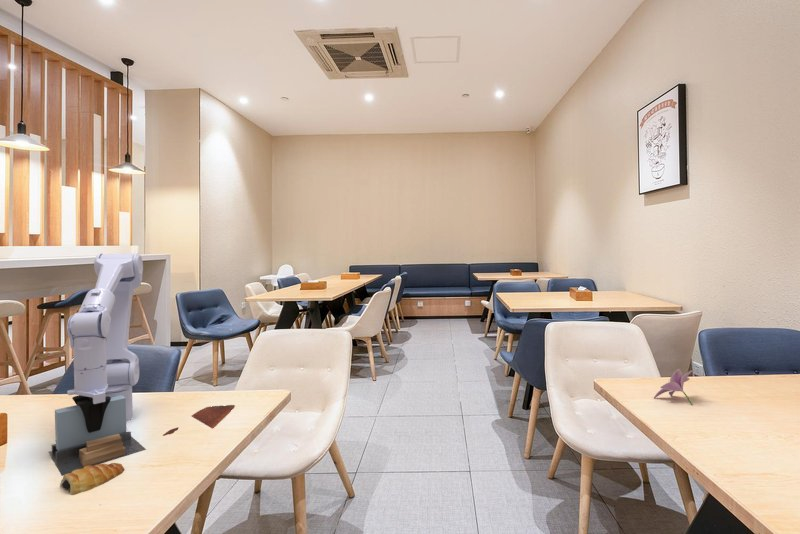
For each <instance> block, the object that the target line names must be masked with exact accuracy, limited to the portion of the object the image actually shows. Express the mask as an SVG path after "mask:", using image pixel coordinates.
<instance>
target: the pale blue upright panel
mask: <svg viewBox="0 0 800 534" xmlns="http://www.w3.org/2000/svg"><path fill="white" fill-rule="evenodd" d="M54 424H55V425H54V431H55V444H56V449H57V450H58V451H60V450H63V449H67V448H71V447H74V446H78V445H82V444H85V443H86V442H87V441H91V440H95V439H99V438H103V437H107V436H111V435H115V434H121V433H125V432H127V422H126V398H125V397H123V396H122V395H121V396H116V397H112V398H111V400H110V402H109V404H108V406H107V408H106V410H105V413H104V417H103V422H102V426H101V429H100V430H98V431H94V432H91V433H89V432H88V430H87V427H86V423H85V418H84V415H83V412H82V410H81V408H80V407H79V405H76V404H75V405H71V406H67V407H63V408H58V409H54Z"/></svg>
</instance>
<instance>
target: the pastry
mask: <svg viewBox="0 0 800 534" xmlns="http://www.w3.org/2000/svg"><path fill="white" fill-rule="evenodd" d="M124 471H125V467H124V466H123V465H122V463H118V462H111V463H108V464H106V463H102V464H98V465H94V466H92V465H89V466H85V467H84V468H83V469H77V470H74V471H72V473H68V474H65V475H63V476H62V479H61V480H60V483H59V485H60V486H59V487H60V488H62V489H65V490H70V491H69V494H68V495H71V496H73V495H78V494H81V493H83V492H84V493H85V492H89V491H91V490H93V489H95V488H97V487H100V486H102V485H104V484H106V483H107V482H109V481H111V480H113V479H114V478H117V477H118V476H119V475H122V474H123V472H124Z"/></svg>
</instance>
